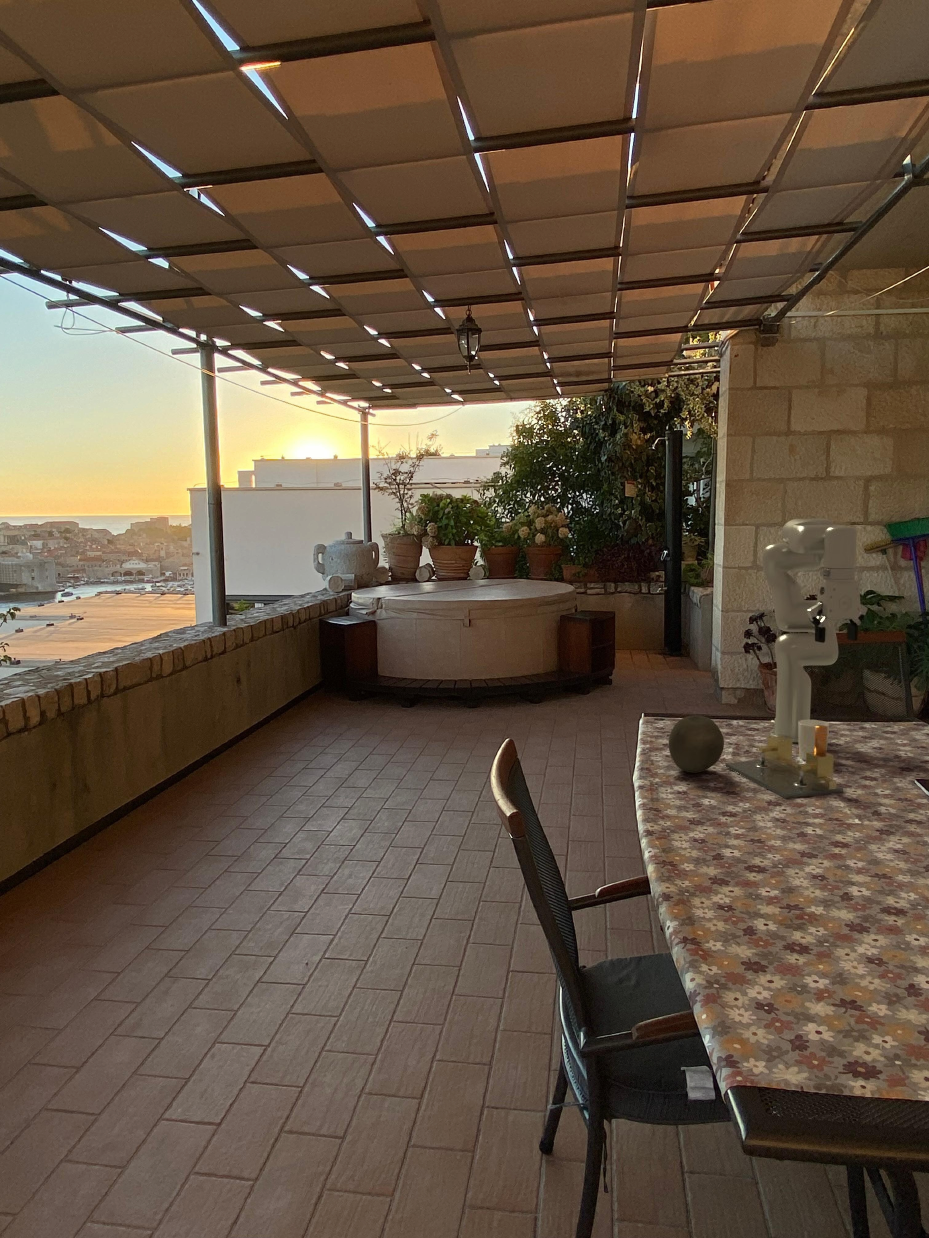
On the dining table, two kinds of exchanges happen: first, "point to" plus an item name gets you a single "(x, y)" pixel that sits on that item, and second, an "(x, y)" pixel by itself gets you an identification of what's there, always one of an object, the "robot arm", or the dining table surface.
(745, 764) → the grey sliding latch board
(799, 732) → the white cup
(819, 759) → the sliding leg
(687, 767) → the dimpled olive sphere
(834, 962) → the dining table surface
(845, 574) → the robot arm
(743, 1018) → the dining table surface
